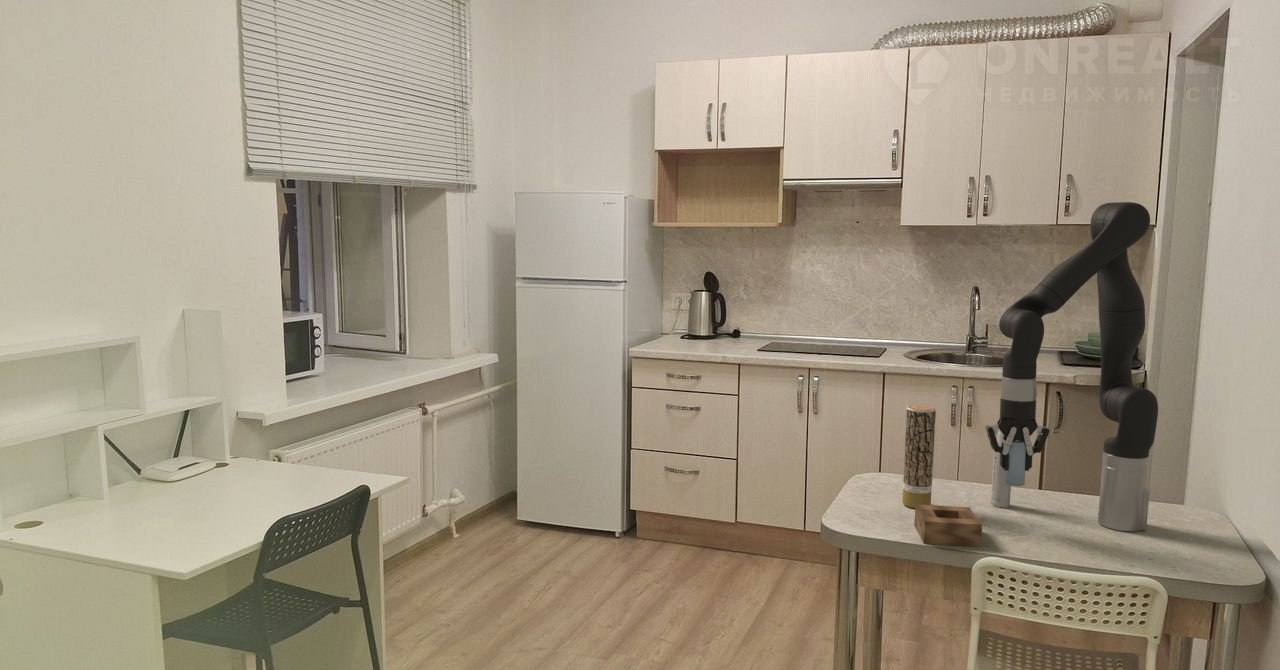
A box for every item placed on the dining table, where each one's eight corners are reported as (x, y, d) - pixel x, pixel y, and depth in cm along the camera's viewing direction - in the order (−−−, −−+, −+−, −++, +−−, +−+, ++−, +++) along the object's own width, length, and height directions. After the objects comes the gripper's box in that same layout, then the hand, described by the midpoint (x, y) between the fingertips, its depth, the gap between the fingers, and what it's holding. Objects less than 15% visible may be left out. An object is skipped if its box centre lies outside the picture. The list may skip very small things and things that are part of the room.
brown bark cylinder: (934, 510, 211) (939, 410, 208) (906, 509, 211) (911, 410, 208) (925, 501, 218) (930, 404, 215) (898, 501, 218) (903, 404, 215)
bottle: (989, 501, 218) (993, 424, 216) (1007, 503, 217) (1012, 425, 215) (992, 507, 214) (997, 428, 211) (1011, 508, 213) (1016, 429, 210)
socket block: (967, 528, 198) (969, 507, 198) (980, 546, 187) (982, 524, 186) (914, 525, 200) (915, 504, 200) (923, 543, 188) (924, 521, 188)
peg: (1021, 481, 200) (1023, 439, 198) (1026, 486, 196) (1028, 443, 194) (1003, 480, 200) (1005, 438, 199) (1008, 485, 196) (1009, 443, 195)
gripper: (1046, 393, 198) (1043, 466, 200) (981, 393, 200) (979, 464, 202) (1056, 400, 191) (1053, 475, 193) (989, 399, 193) (987, 473, 195)
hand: (1015, 469), depth 197 cm, fingers closed on peg, 4 cm apart
